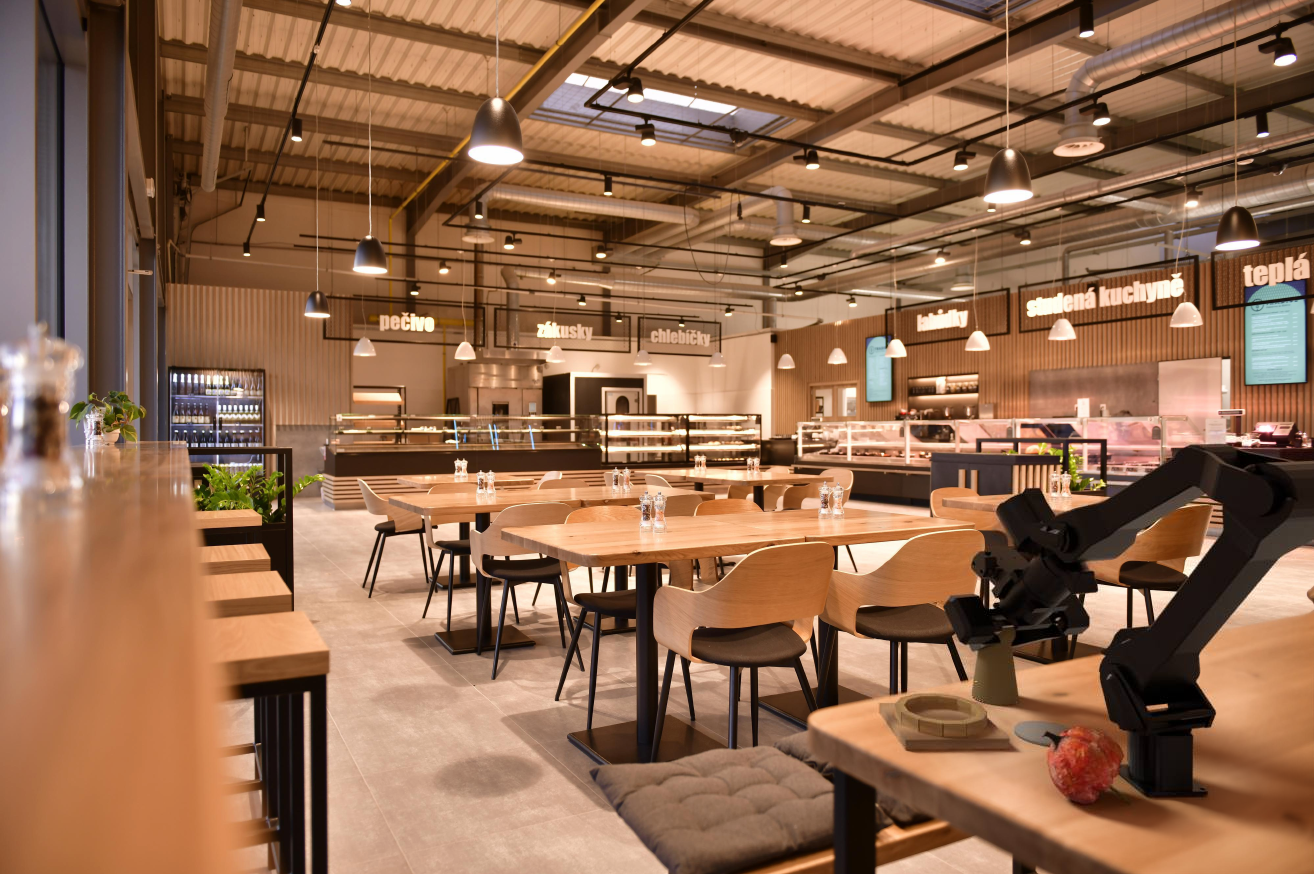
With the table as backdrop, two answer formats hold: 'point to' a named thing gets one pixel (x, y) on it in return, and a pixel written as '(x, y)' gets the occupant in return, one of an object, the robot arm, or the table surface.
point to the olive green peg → (996, 672)
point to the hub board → (942, 742)
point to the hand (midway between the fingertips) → (988, 646)
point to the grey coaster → (1038, 731)
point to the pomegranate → (1083, 763)
